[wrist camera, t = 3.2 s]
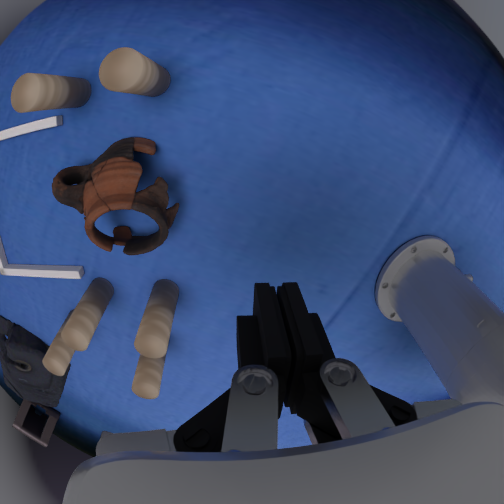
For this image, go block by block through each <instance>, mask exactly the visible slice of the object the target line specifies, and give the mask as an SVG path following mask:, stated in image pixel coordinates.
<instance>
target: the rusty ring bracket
mask: <svg viewBox="0 0 504 504" xmlns="http://www.w3.org/2000/svg"><path fill="white" fill-rule="evenodd" d="M155 145H156V143H155V142H154V141H151V140H149V139H145V138H138V137H135V138H134V137H130V138H125V139H121V140H119V141H117V142H115V143H113V144H112V145H111V146H110V147H109V148H108V149H107V150H106V151H105V152H104V153H103V154H102V155H100V156H99V157H98V158H97V160H95V161H94V162H93V163H92V164H89V165H85V166H72V167H68V168H65V169H62V170H61V171H60V172H59V173H58V174H57V175H56V176H55V178H53V183H52V192H53V195H54V197H55V198H56V200H58V201H59V202H60V203H62V204H64V205H67V206H70V207H73V208H75V209H77V210H78V211H79V212H80V213H81V214H83V213H84V215H85V216H86V217H84V219H85V231H86V234H87V235H88V237H89V239H90V240H91V241H92V242H93V243H94V244H95V245H96V246H98V247H100V248H101V249H103V250H106V251H109V252H111V251H112V247H113V244H115V245H120V246H125V247H124V250H123V252H124V253H125V254H127V255H139V254H144V253H147V252H150V251H152V250H154V249H156V248H157V247H158V246H160V245H161V244H163V242H164V241H165V240H166V238H167V236H168V229H169V228H170V227H171V226H172V224H173V221H174V219H175V217H176V214H177V212H178V208H179V203H176V204H175V205H174V206H172V207H170V208H168V209H166V208H167V206H168V201H169V196H168V193H167V190H168V184H167V183H166V182H165V180H164V179H163V178H161V177H158V178H157V179H156V181H155V183H154V184H153V185H151V186H149V187H147V188H146V189H144V190H141V191H139V192H136V189H137V186H138V182H139V179H140V177H141V175H142V172H143V170H142V167H141V165H140V163H138V162H136V161H133V159H134V156H133V151H138V152H143V153H147V154H150V155H154V154H155V152H156V148H155ZM73 184H77V185H73ZM121 209H128V210H130V209H133V210H135V211H139V212H142V213H145V214H146V215H148V216H150V217H151V218H152V219H154V220H155V221H156V222H157V224H158V225H159V231H157V232H156V233H154V234H151V235H149V236H132V234H131V231H130V229H129V227H127V226H120V227H115V228H114V230H113V234H114V237H110V236H107V235H105V234H103V233H102V232H100V231H99V230H98V229H97V228H96V227H95V224H94V223H95V221H96V219H97V218H98V217H100V216H101V215H102V214H104V213H107V212H109V211H111V210H112V211H113V210H121Z"/></svg>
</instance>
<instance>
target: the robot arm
mask: <svg viewBox="0 0 504 504" xmlns="http://www.w3.org/2000/svg"><path fill="white" fill-rule="evenodd" d="M472 281H473V277H472V275H471V274H463V273H462V272H461V271H460V270H459V269H458V268H457V267H456V266H455V257H454V254H453V251H452V249H451V247H450V246H449V245H448V244H447V243H446V242H445V241H443V240H442V239H440V238H438V237H435V236H422V237H418V238H415V239H413V240H410V241H409V242H407V243H406V244H404V245H403V246H401V247H400V248H399V249H398V250H397V251H395V253H394V254H393V255H392V256H391V257H390V258H389V259H388V261H387V262H386V264H385V265H384V267H383V268H382V270H381V272H380V274H379V277H378V280H377V283H376V289H375V299H376V303H377V306H378V307H379V309H380V311H381V312H382V313H383V315H384V316H385V317H387V318H388V319H390V320H393V321H399V322H403V323H404V324H405V326H406V327H407V329H408V330H409V332H410V333H411V335H412V336H413V338H414V339H415V341H416V342H417V344H418V345H419V347H420V348H421V350H422V352H423V353H424V355H425V356H426V358H427V359H428V361H429V363H430V364H431V366H432V367H433V369H434V371H435V372H436V374H437V375H438V377H439V379H440V380H441V382H442V384H443V385H444V387H445V389H446V391H447V392H448V394H449V396H450V397H451V399H448V400H438V401H426V402H414V403H413V404H412V405H410V404H409V403H407V402H406V401H404V400H401V399H399V398H397V397H395V396H393V395H390V394H388V393H386V392H384V391H382V390H380V389H378V388H375V387H373V386H371V385H369V383H368V382H367V380H366V379H365V377H364V376H363V374H362V373H361V371H360V369H359V368H358V367H357V366H356V365H355V364H354V363H352V362H351V361H349V360H346V359H341V358H335V355H334V353H333V350H332V348H331V345H330V343H329V340H328V338H327V335H326V333H325V330H324V328H323V325H322V323H321V320H320V318H319V316H318V314H317V313H308V310H307V307H306V305H305V302H304V299H303V297H302V294H301V292H300V289H299V286H298V284H297V282H286V283H282V286H278V287H277V295H276V291H275V287H274V286H270V285H269V283H255V286H254V304H253V315H251V316H237V356H238V370H237V371H236V372H235V373H234V375H233V378H232V383H231V388H229V389H228V390H227V391H226V392H224V393H223V394H222V395H221V396H219V397H218V398H217V399H216V400H214V401H213V402H212V403H210V404H209V405H208V406H207V407H205V408H204V409H203V410H201V411H200V412H199V413H197V414H196V415H195V416H193V417H192V418H191V419H189V420H188V421H187V422H185V423H184V424H183V425H181V426H180V427H179V428H178V429H177V430H172V431H166V430H165V429H160V430H152V431H142V432H131V433H116V434H109V435H106V436H104V437H103V438H101V439H100V440H99V442H98V443H97V448H96V456H97V457H94V458H91V459H88V460H86V461H85V462H83V463H81V464H80V465H79V466H78V467H77V468H76V470H75V471H74V473H73V474H72V476H71V478H70V480H69V483H68V486H67V489H66V492H65V495H64V499H63V504H504V313H503V312H502V311H501V310H500V309H499V308H498V307H497V306H496V305H495V304H494V303H493V302H492V301H491V300H490V299H489V298H488V297H487V296H486V295H485V294H484V293H483V292H482V291H481V290H480V289H479V288H478V287H477V286H476V285H475V284H474V283H473V282H472ZM283 402H284V405H285V407H290V411H291V414H297V416H299V417H301V418H302V419H304V426H305V428H306V430H307V433H308V435H309V438H310V440H311V442H312V444H313V445H308V446H301V447H293V448H284V449H277V435H278V419H279V418H280V415H281V411H282V407H283Z"/></svg>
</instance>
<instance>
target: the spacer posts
mask: <svg viewBox="0 0 504 504" xmlns="http://www.w3.org/2000/svg"><path fill="white" fill-rule="evenodd" d="M99 78H100V81H101V83H102V85H103V86H104V87H105V88H106V89H108V90H111V91H116V92H124V93H131V94H138V95H144V96H151V97H154V96H159V95H161V94H162V93H164V92H165V91H166V90H167V88H168V87H169V84H170V75H169V72H168V71H167V70H166V69H165V68H163V67H162V66H160V65H158V64H157V63H155V62H154V61H152V60H150V59H149V58H147V57H146V56H144V55H142V54H141V53H139V52H137V51H136V50H134V49H132V48H127V47H123V48H118V49H116V50H114V51H112V52H110V53H109V54H108V55H107V56H106V57H105V58H104V60H103V61H102V63H101V66H100V69H99ZM90 95H91V86H90V83H89V82H88V81H87V80H86V79H82V78H75V77H67V76H58V75H48V74H35V73H26V74H24V75H22V76H21V77H20V78H19V79H18V80H17V81H16V83H15V84H14V86H13V89H12V93H11V103H12V106H13V108H14V109H15V110H16V111H17V112H20V113H23V112H31V111H40V110H50V109H61V108H76V107H81V106H83V105H84V104H85V103H86V102H87V101H88V99H89V97H90ZM113 293H114V289H113V286H112V285H111V283H110V282H109V281H107V280H106V279H104V278H95V279H94V280H93V281H92V283H91V284H90V286H89V287H88V289H87V290H86V292H85V293H84V295H83V297H82V298H81V300H80V301H79V303H78V305H77V306H76V308H75V309H74V310H71V311H70V313H69V315H68V316H67V318H66V319H65V321H64V323H63V324H62V326H61V328H60V330H59V331H58V333H57V335H56V337H55V338H54V340H53V342H52V344H51V345H50V347H49V349H48V351H47V353H46V354H45V356H44V358H43V360H42V362H43V365H44V366H45V368H46V369H47V370H48V371H50V372H51V373H53V374H55V375H57V376H63V375H64V374H65V372H66V369H67V367H68V365H69V363H70V361H71V358H72V356H73V354H74V352H75V350H77V351H84V350H86V349H87V347H88V345H89V343H90V340H91V338H92V336H93V334H94V332H95V330H96V328H97V326H98V324H99V321H100V319H101V317H102V315H103V313H104V311H105V309H106V307H107V305H108V303H109V301H110V300H111V298H112V296H113ZM178 295H179V289H178V286H177V285H176V284H175V283H174V282H172V281H170V280H167V279H161V280H159V281H157V282H156V283H155V284H154V286H153V289H152V292H151V294H150V297H149V300H148V303H147V306H146V309H145V312H144V314H143V317H142V320H141V323H140V326H139V329H138V332H137V335H136V338H135V342H134V346H135V348H136V350H137V351H138V352H139V353H140V357H139V361H138V365H137V368H136V372H135V376H134V380H133V384H132V391H133V392H134V393H135V394H136V395H137V396H139V397H142V398H145V399H154V398H157V397H158V395H159V390H160V385H161V379H162V373H163V368H164V363H165V357H166V352H167V347H168V342H169V337H170V332H171V327H172V322H173V318H174V313H175V309H176V304H177V300H178Z"/></svg>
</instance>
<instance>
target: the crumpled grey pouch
mask: <svg viewBox="0 0 504 504" xmlns="http://www.w3.org/2000/svg"><path fill="white" fill-rule="evenodd" d="M5 335H7V336H8V339H6V337H5ZM49 347H50V346H48V345H46V344H45V343H44V342H43V341H42V340H41V339H40V338H38V337H37V336H35V335H34V334H32V333H31V332H29V331H27V330H26V329H24V328H23V327H21V326H20V325H16V324H15V323H12V322H10V321H9V320H8V321H6V320H5V319H4V318H2V317H1V316H0V360H1V364H2V369H3V376H4V380H5V383H6V385H7V386H8V387H9V388H11V389H12V390H13V391H14V392H15V393H16V394H17V395H18V396H19V397H21V398H22V399H25V400H28V401H31V402H34V403H40V404H42V405H45V406H50V407H56V406H57V404H59V399H60V397H61V394H62V392H63V389H64V386H65V382H66V379H67V375H68V372H69V370H70V366H71V365H70V364H69V365H68V367H67V369H66V372H65V374H64V375H63V376H57V375H55V374H53V373H51V372H50V371H48V370H47V369H46V368H45V366H44V365H43V362H42V360H43V358H44V356H45V354H46V353H47V351H48V349H49Z"/></svg>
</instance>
